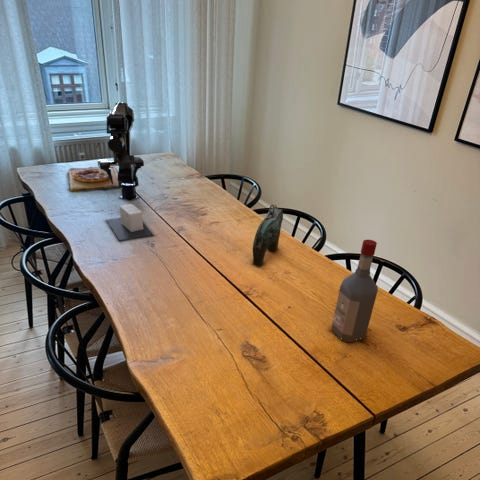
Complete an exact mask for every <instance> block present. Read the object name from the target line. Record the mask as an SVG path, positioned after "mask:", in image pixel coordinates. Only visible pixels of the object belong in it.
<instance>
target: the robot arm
mask: <svg viewBox="0 0 480 480" xmlns="http://www.w3.org/2000/svg"><path fill="white" fill-rule="evenodd" d="M114 105H115V107H114V108H113V112H109V113H108V114H107V116H106V134H110V138H109V139H108V142H107V147H108V149H109V150H110V151H111V152H112V158H113V160H111V161H109V160H108V159H107V158H105V159H104V158H103V159H98V160H97V162H96V163H97V167H99V168H100V169H101V170H103V171H106V173H107V175H108V177H109V179H110V181H111V183H112V184H113V179H112V175H111V169H110V167H112V166H114V167H116V166H117V167H118V172H119V173H118V184H119V186H118V187H121V196H119V197H120V199H123V200H125V201H134V200H136V199H138V198H139V197H140V196H139V195H137V190H136V188H137V187H138V186H140V184H139V177H138V176H137V172H138V170H140V169H142V167H144V166H145V162H144V160H143V159H142V158H141V156H135V155H133V154H132V152H131V151H132V149H131V131H132V129H133V127H134V123H135V113H134V110H133V108H131V107H130V106H129V105H128V103H126V102H118V101H117V102H115V104H114Z"/></svg>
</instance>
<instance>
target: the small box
mask: <svg viewBox="0 0 480 480" xmlns="http://www.w3.org/2000/svg"><path fill="white" fill-rule="evenodd" d="M119 215H120V218H121V223H122V224H123V225H124V226H125V227H126V228H127V229H128V230H130V231H131V232H134V231H138V230H143V223H144V219H143V212H142V211H141V210H140V209H139V208H138V207H136V206H135V205H134V204H132V203H129V204H124V205H119Z"/></svg>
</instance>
